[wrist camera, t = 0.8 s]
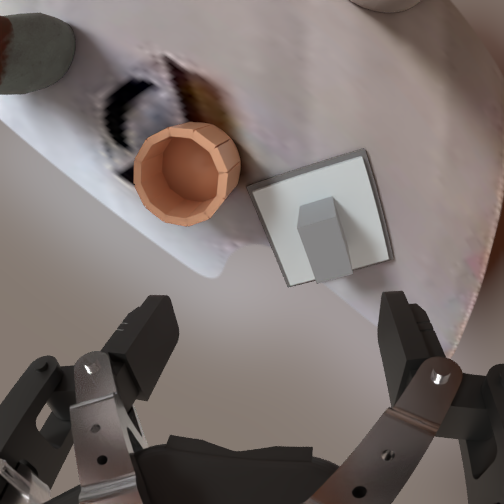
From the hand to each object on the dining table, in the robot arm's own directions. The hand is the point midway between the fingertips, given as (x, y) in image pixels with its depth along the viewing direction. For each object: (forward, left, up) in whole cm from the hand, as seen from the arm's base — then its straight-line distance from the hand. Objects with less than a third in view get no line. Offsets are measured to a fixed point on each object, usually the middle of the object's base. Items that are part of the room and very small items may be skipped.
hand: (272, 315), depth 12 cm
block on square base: (-1, +4, -18) cm, 19 cm away
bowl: (+8, -5, -19) cm, 21 cm away
